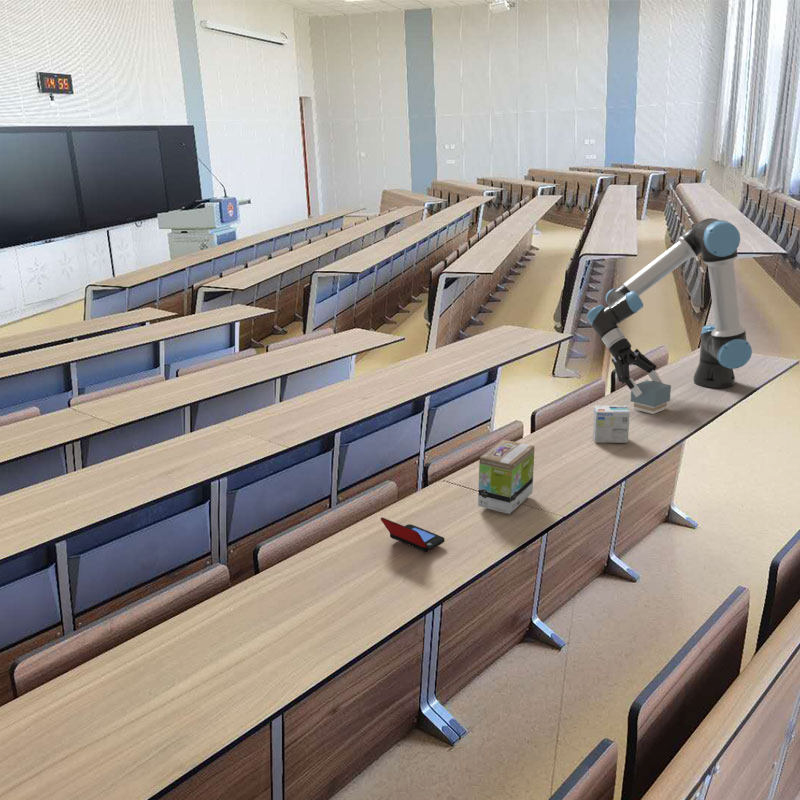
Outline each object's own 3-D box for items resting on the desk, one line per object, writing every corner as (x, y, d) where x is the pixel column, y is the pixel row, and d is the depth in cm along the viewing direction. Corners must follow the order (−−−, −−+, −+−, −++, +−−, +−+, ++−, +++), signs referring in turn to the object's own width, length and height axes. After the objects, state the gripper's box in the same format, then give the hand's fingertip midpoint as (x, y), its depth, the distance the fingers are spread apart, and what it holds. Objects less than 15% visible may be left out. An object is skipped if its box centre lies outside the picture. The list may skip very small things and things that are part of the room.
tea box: (511, 515, 205) (512, 464, 200) (477, 507, 210) (477, 456, 206) (533, 493, 217) (535, 444, 212) (500, 485, 222) (501, 437, 217)
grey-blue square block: (646, 395, 286) (647, 380, 284) (669, 400, 278) (670, 385, 277) (630, 401, 280) (631, 385, 278) (654, 407, 273) (655, 391, 271)
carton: (646, 403, 285) (647, 383, 283) (666, 408, 279) (667, 387, 277) (633, 409, 281) (634, 387, 278) (653, 414, 275) (654, 392, 272)
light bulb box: (624, 435, 256) (627, 404, 253) (628, 443, 250) (630, 411, 246) (591, 435, 257) (593, 404, 254) (594, 443, 251) (596, 411, 247)
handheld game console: (446, 542, 193) (446, 515, 191) (417, 559, 186) (417, 532, 183) (409, 526, 201) (408, 500, 199) (380, 543, 194) (379, 516, 191)
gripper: (630, 343, 294) (663, 388, 288) (589, 355, 279) (622, 404, 273) (643, 331, 289) (677, 377, 282) (602, 343, 274) (636, 393, 267)
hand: (650, 391), depth 277 cm, fingers open, 13 cm apart
